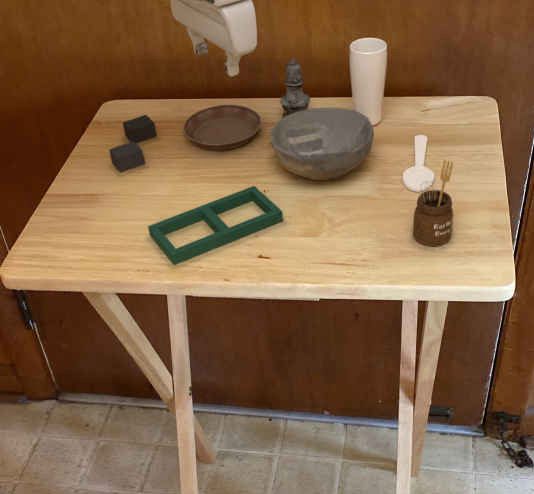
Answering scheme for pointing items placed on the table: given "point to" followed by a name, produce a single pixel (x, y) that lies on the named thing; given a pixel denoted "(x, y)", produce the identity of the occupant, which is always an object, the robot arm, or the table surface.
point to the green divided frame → (215, 224)
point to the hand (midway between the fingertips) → (216, 64)
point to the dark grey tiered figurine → (294, 90)
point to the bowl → (322, 141)
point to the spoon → (418, 168)
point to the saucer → (222, 126)
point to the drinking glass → (368, 76)
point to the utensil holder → (434, 213)
